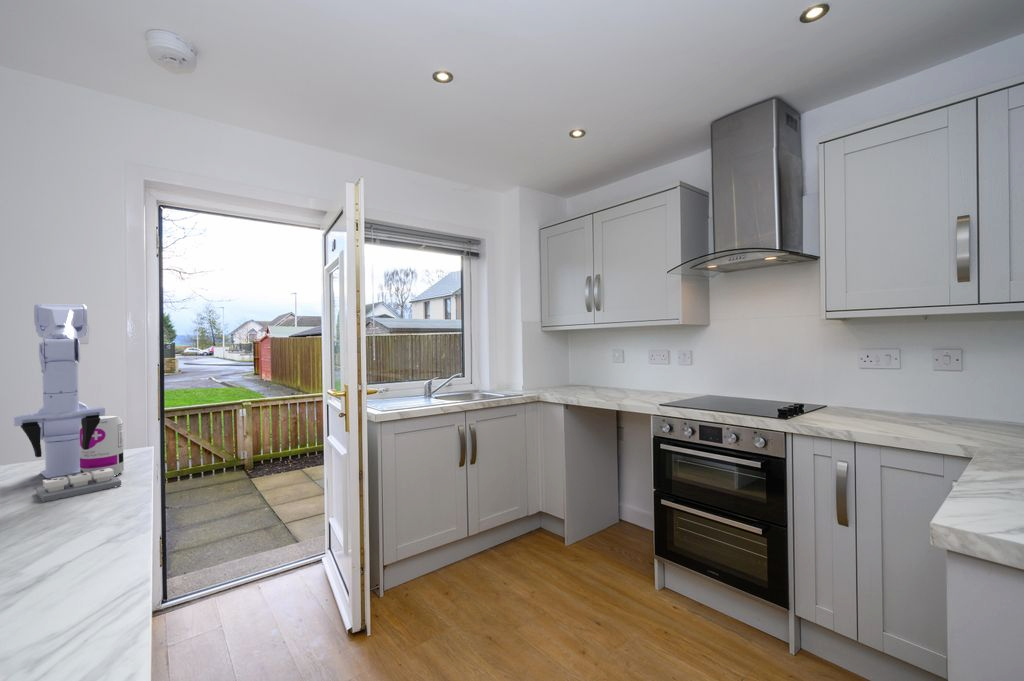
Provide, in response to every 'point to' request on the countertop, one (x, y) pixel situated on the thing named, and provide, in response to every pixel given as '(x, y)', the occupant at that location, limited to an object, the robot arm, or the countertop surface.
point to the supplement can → (103, 446)
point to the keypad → (77, 489)
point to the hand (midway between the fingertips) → (62, 452)
